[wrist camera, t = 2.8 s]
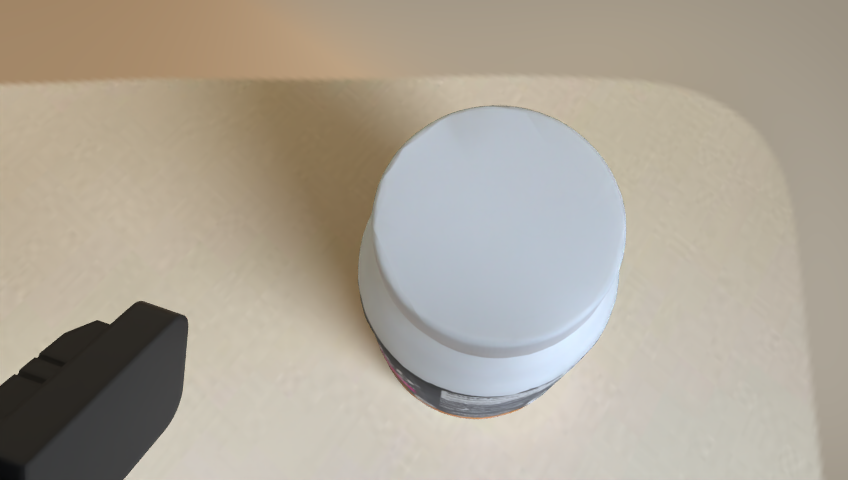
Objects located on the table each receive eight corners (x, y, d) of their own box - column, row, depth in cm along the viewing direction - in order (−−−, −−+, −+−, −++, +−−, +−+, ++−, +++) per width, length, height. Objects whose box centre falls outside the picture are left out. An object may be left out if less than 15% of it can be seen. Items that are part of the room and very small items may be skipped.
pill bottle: (360, 262, 24) (307, 117, 15) (538, 215, 25) (596, 44, 15) (407, 446, 23) (381, 413, 13) (597, 393, 23) (703, 324, 14)
